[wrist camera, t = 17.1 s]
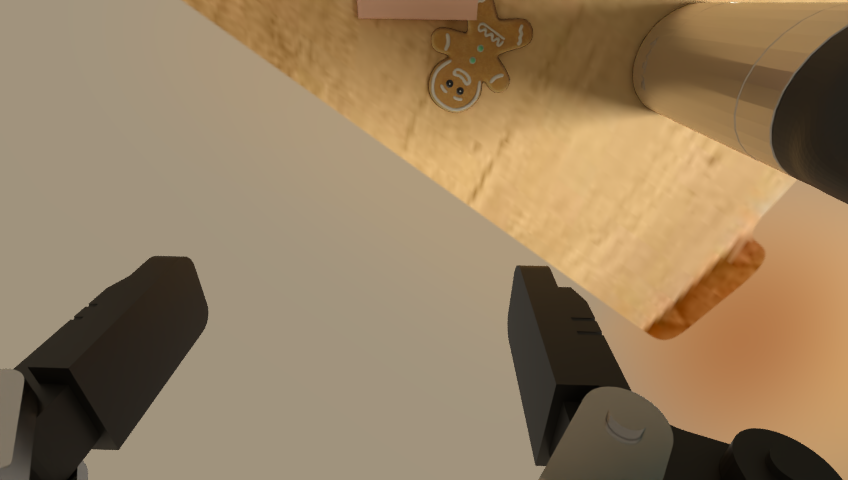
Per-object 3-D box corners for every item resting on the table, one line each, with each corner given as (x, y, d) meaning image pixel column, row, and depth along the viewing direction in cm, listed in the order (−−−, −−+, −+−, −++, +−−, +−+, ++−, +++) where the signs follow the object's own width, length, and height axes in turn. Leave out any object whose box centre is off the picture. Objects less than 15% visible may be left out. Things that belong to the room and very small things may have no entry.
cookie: (546, 35, 35) (477, 132, 39) (543, 34, 36) (475, 130, 40) (468, -28, 33) (403, 83, 37) (467, -27, 33) (403, 81, 38)
